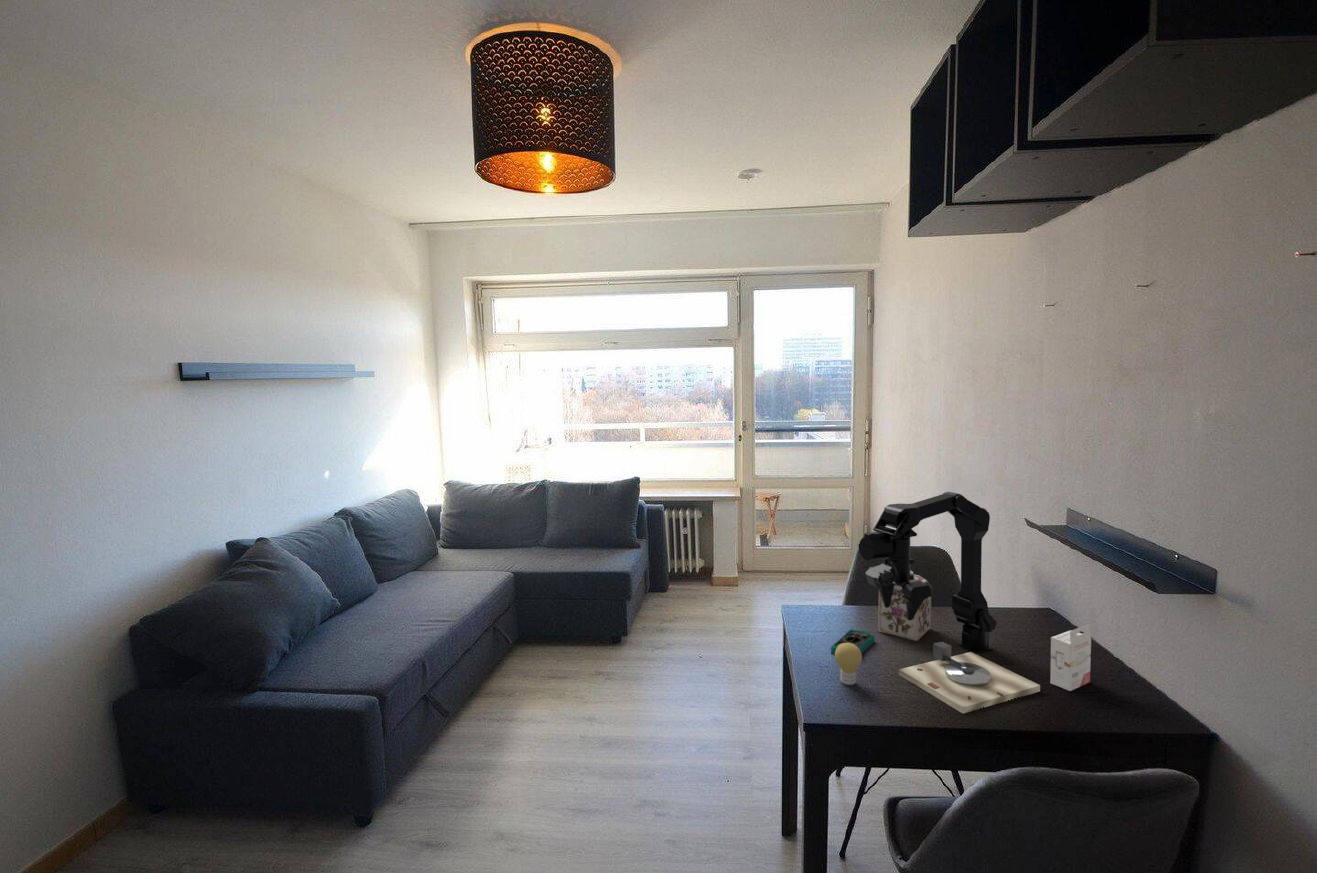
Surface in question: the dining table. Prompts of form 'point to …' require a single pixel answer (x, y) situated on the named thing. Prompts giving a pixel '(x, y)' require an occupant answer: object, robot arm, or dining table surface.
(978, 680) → the dial
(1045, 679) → the dining table surface
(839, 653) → the light bulb
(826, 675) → the dining table surface
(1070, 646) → the ink cartridge box
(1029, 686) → the dial board
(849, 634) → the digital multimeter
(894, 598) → the decorative jar
